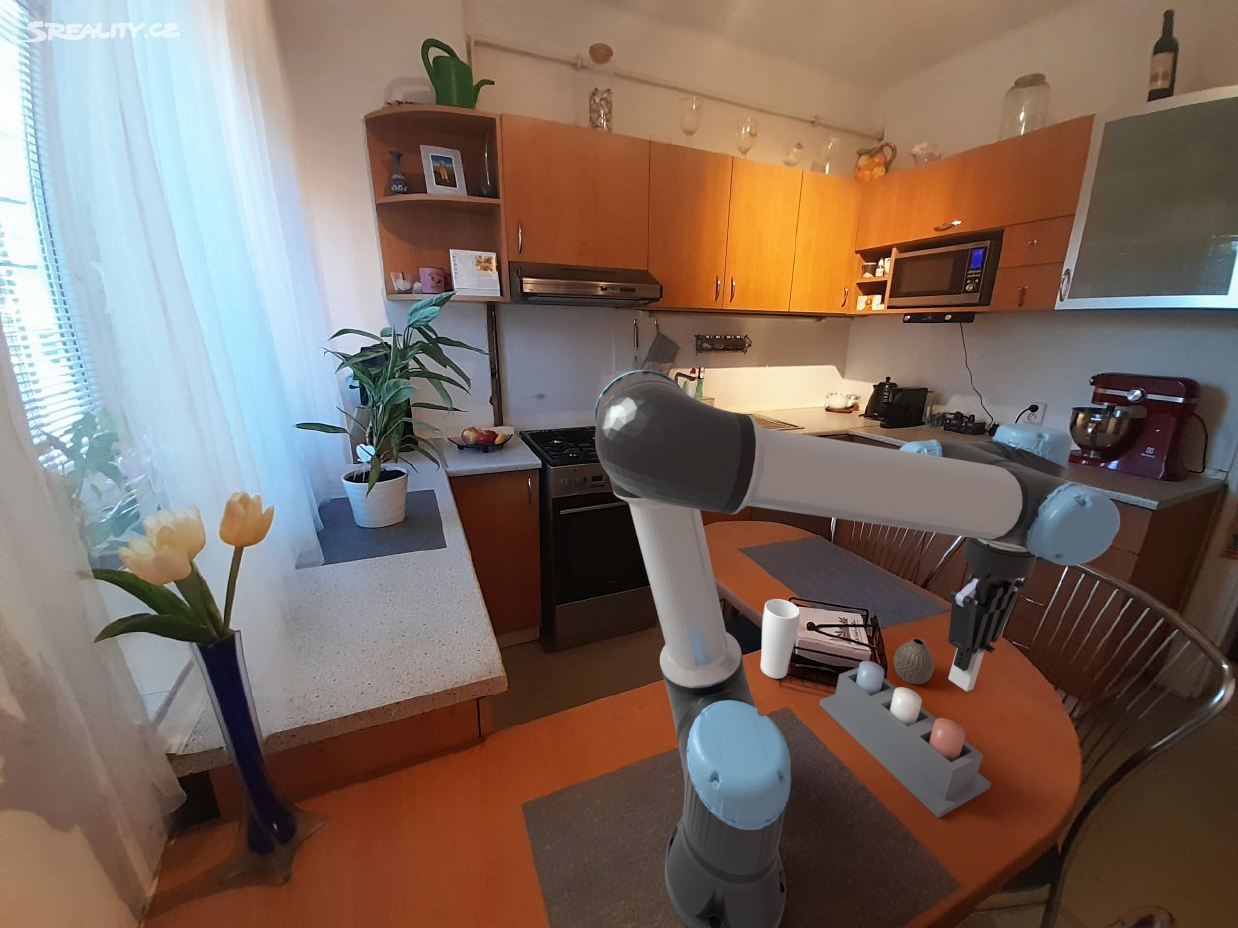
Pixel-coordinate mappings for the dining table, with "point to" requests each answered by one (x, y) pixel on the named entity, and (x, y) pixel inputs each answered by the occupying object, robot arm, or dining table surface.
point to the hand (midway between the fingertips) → (960, 683)
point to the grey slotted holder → (906, 746)
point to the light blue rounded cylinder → (870, 677)
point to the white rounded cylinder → (906, 705)
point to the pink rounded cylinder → (947, 738)
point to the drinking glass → (778, 636)
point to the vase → (914, 662)
